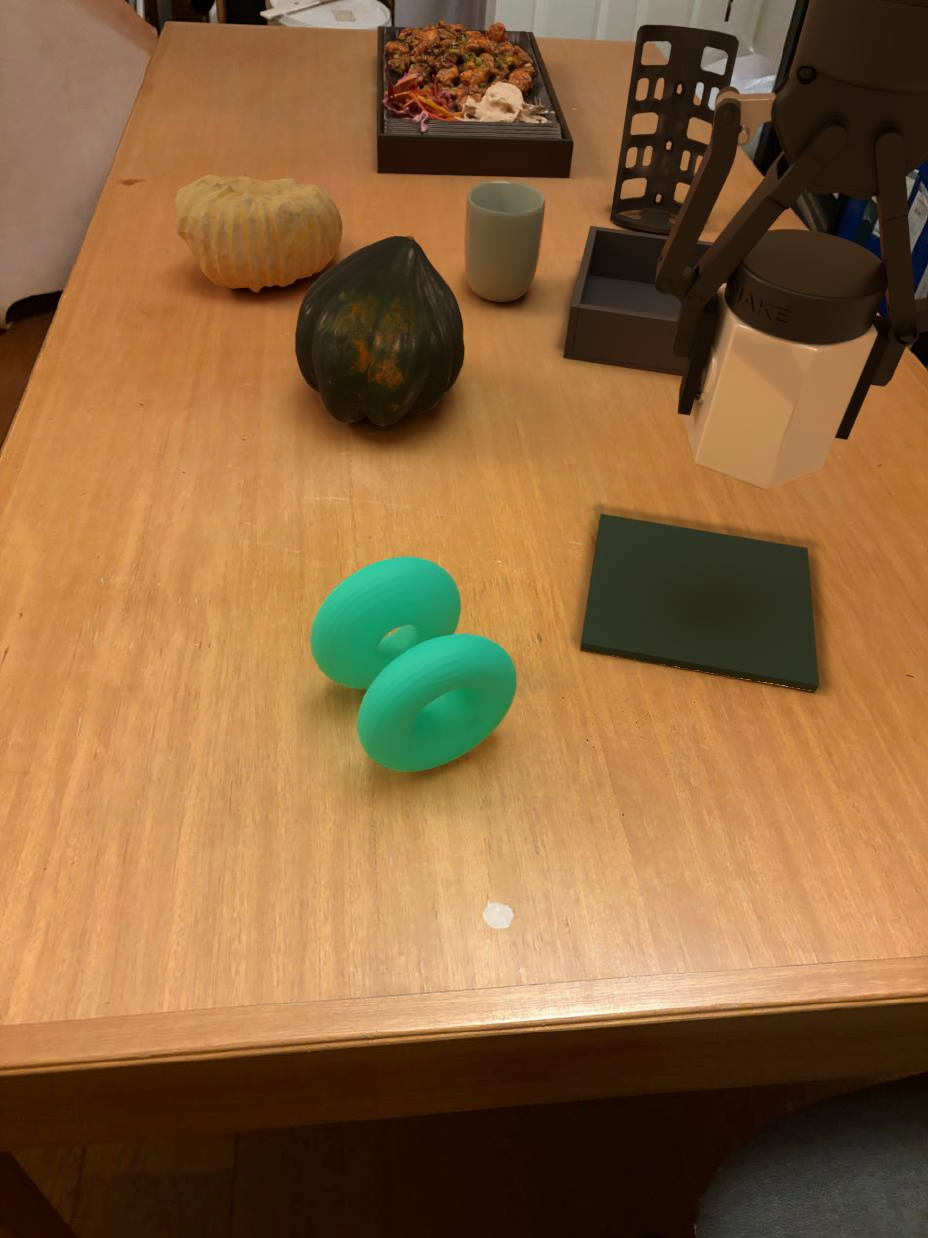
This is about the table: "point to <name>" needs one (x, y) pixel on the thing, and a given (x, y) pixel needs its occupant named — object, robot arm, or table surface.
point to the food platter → (467, 104)
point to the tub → (624, 303)
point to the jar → (785, 356)
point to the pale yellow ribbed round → (257, 229)
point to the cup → (503, 238)
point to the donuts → (412, 664)
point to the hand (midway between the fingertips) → (761, 413)
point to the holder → (668, 121)
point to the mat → (702, 602)
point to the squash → (380, 334)
